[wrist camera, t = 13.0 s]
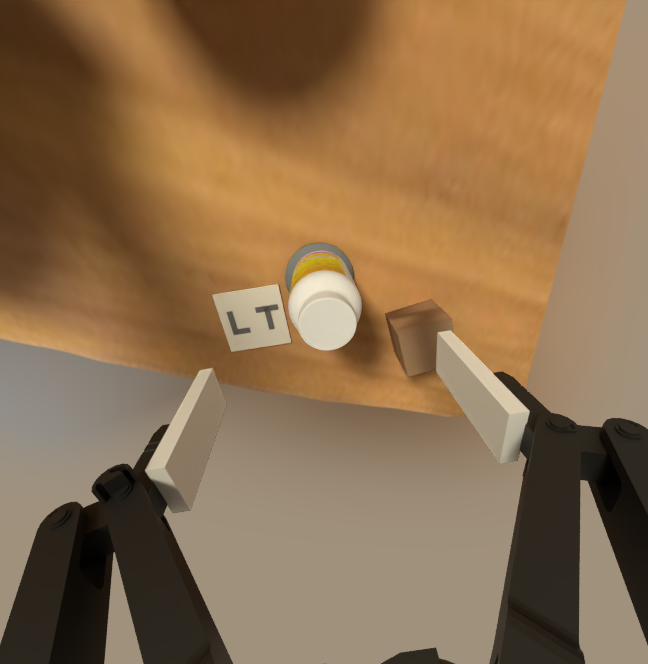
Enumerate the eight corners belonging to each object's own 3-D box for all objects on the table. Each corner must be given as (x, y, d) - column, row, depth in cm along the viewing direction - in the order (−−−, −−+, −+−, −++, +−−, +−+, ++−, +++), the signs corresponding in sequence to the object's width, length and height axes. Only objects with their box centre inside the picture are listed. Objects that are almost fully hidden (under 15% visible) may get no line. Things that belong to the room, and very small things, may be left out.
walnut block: (394, 351, 40) (407, 377, 35) (384, 313, 38) (397, 334, 32) (437, 338, 40) (457, 362, 34) (431, 298, 37) (451, 318, 32)
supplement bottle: (280, 273, 34) (266, 318, 23) (326, 237, 32) (336, 266, 21) (316, 314, 37) (319, 374, 25) (360, 283, 35) (385, 331, 24)
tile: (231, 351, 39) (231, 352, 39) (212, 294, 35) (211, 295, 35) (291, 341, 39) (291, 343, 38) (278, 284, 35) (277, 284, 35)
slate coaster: (292, 313, 37) (292, 314, 36) (279, 248, 33) (278, 249, 33) (356, 303, 37) (356, 304, 36) (349, 237, 33) (349, 238, 33)
